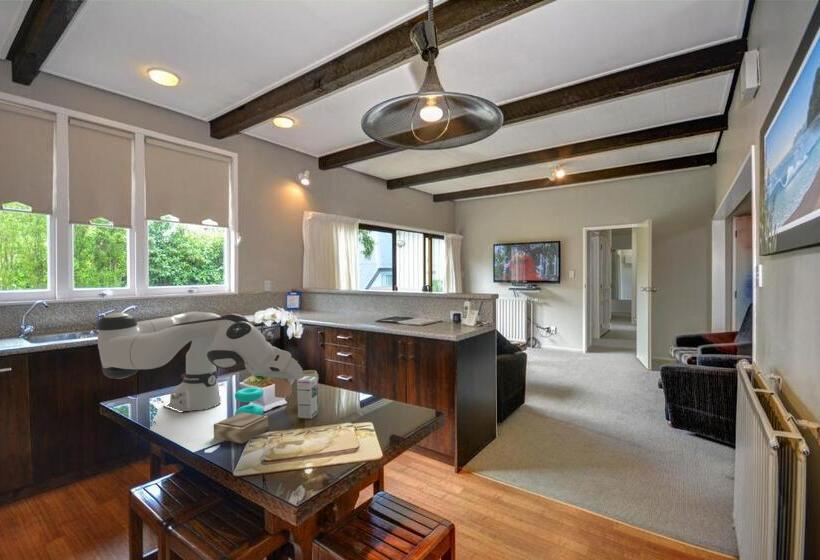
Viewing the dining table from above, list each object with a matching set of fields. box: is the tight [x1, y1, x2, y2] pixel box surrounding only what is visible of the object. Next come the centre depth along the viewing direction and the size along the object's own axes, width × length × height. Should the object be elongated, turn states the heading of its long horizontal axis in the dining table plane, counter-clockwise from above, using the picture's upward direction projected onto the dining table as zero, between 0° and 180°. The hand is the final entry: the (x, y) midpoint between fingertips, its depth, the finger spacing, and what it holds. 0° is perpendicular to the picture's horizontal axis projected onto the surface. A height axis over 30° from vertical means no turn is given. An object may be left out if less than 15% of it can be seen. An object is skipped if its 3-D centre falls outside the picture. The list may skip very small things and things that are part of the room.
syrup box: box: [296, 376, 319, 419], centre depth 146 cm, size 6×6×14 cm
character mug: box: [297, 369, 319, 382], centre depth 162 cm, size 11×7×13 cm, turn 146°
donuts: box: [234, 387, 264, 415], centre depth 146 cm, size 10×10×10 cm
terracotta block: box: [274, 378, 293, 399], centre depth 134 cm, size 4×4×9 cm
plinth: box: [213, 412, 269, 444], centre depth 130 cm, size 12×12×5 cm
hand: (284, 380), depth 135 cm, fingers closed on terracotta block, 4 cm apart
